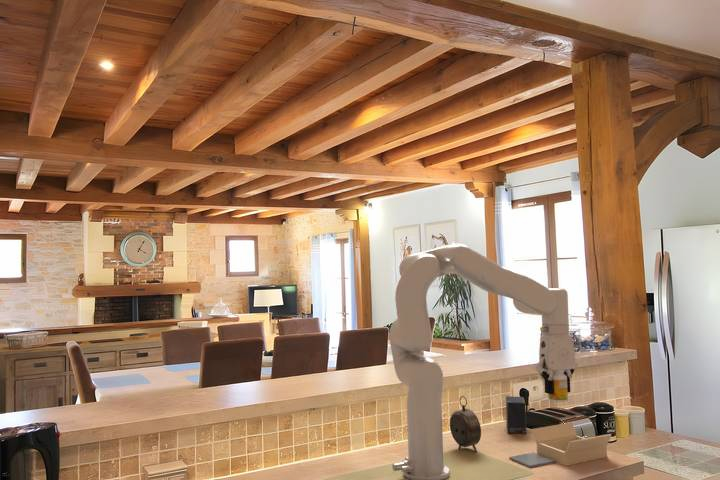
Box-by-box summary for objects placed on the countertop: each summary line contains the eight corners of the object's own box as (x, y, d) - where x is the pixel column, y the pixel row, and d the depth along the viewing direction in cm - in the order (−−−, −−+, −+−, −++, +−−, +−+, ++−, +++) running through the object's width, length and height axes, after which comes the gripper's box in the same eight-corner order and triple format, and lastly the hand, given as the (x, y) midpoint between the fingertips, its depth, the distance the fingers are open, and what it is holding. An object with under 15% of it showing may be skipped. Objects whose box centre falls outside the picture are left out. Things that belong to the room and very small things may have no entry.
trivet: (530, 467, 163) (529, 465, 163) (509, 459, 171) (509, 457, 171) (555, 462, 167) (555, 460, 167) (533, 454, 175) (533, 452, 175)
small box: (527, 434, 197) (526, 402, 198) (507, 433, 198) (506, 402, 199) (525, 426, 207) (523, 396, 208) (506, 425, 209) (504, 395, 209)
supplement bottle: (544, 399, 174) (543, 366, 175) (560, 398, 176) (559, 365, 177) (555, 403, 169) (554, 368, 170) (571, 401, 171) (570, 367, 171)
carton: (571, 467, 162) (570, 441, 162) (532, 452, 177) (531, 428, 177) (613, 459, 168) (611, 434, 169) (571, 445, 183) (570, 422, 183)
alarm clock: (483, 452, 178) (480, 398, 179) (468, 455, 176) (466, 400, 177) (461, 443, 188) (459, 392, 189) (447, 446, 186) (445, 394, 187)
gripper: (541, 332, 167) (543, 397, 166) (587, 329, 174) (589, 392, 173) (523, 330, 174) (525, 393, 173) (568, 328, 181) (570, 388, 180)
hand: (557, 391), depth 173 cm, fingers closed on supplement bottle, 5 cm apart
